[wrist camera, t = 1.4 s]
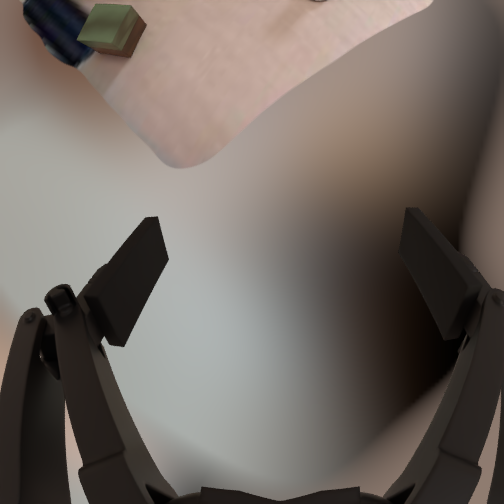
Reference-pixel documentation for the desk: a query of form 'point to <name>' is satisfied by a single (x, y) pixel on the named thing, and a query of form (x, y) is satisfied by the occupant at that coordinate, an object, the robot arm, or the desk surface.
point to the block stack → (112, 29)
